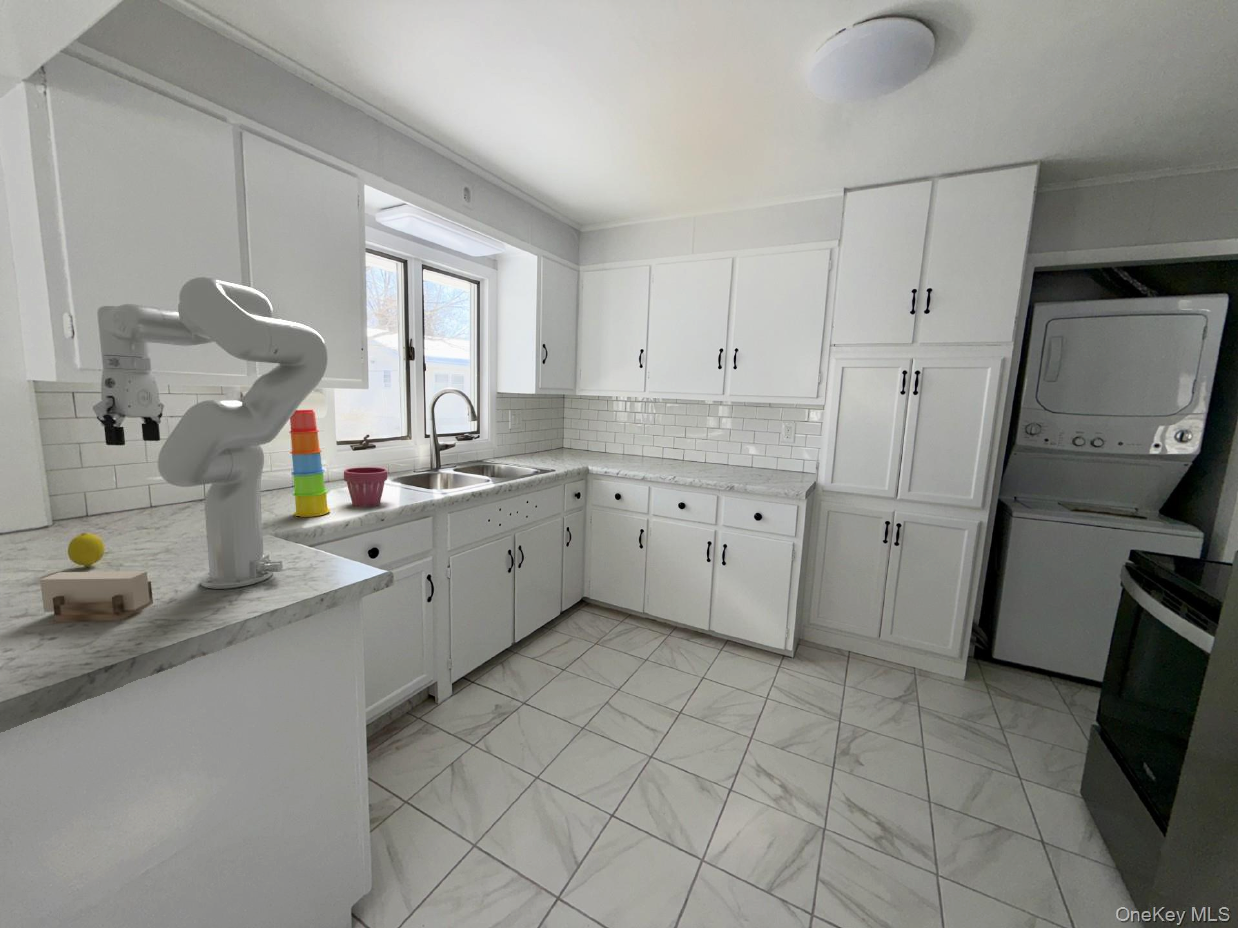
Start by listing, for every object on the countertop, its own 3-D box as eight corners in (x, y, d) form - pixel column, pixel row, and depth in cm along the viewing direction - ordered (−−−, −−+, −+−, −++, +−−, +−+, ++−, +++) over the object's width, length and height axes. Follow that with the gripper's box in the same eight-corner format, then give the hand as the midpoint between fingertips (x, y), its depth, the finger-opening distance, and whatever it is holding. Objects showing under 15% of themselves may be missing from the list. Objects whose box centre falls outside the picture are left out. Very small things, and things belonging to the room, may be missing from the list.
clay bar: (149, 601, 92) (146, 571, 91) (134, 609, 88) (131, 578, 87) (63, 603, 90) (59, 572, 89) (44, 611, 86) (39, 579, 85)
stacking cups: (308, 519, 156) (304, 410, 151) (286, 514, 159) (281, 409, 154) (337, 512, 165) (333, 410, 161) (315, 508, 169) (311, 408, 164)
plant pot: (396, 503, 181) (395, 469, 179) (359, 510, 169) (358, 474, 167) (373, 498, 188) (372, 465, 187) (336, 504, 176) (335, 469, 175)
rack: (153, 602, 94) (151, 581, 93) (120, 620, 87) (118, 597, 86) (93, 603, 92) (91, 581, 92) (55, 621, 85) (52, 598, 85)
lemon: (104, 561, 113) (101, 527, 112) (107, 567, 110) (103, 533, 109) (69, 566, 109) (65, 532, 108) (70, 573, 106) (66, 537, 105)
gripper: (112, 364, 99) (120, 447, 101) (175, 368, 116) (181, 439, 118) (69, 362, 98) (79, 446, 100) (139, 366, 115) (146, 438, 117)
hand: (134, 442), depth 109 cm, fingers open, 9 cm apart
